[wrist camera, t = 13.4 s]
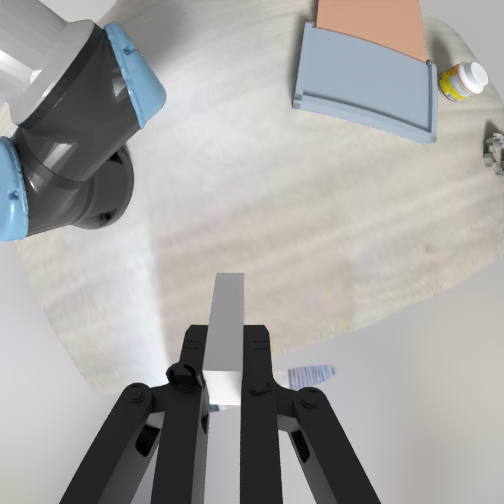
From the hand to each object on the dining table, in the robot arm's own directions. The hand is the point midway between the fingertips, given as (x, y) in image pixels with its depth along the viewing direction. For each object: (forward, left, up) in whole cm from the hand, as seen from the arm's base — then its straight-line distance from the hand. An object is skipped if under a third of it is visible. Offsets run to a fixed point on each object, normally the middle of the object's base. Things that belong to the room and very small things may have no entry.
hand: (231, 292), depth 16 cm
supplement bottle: (+30, +32, -26) cm, 50 cm away
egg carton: (+45, +23, -26) cm, 56 cm away
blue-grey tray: (+14, +26, -25) cm, 39 cm away
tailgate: (+14, +33, -22) cm, 42 cm away
